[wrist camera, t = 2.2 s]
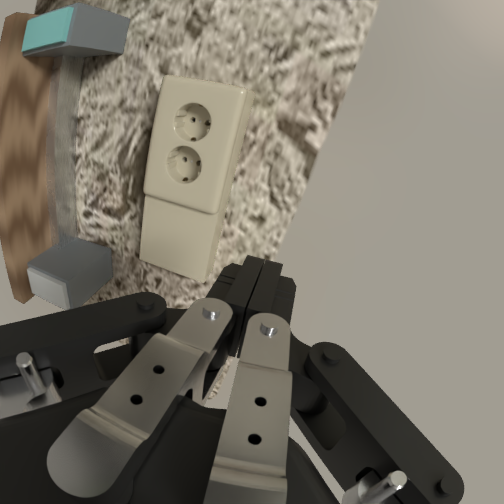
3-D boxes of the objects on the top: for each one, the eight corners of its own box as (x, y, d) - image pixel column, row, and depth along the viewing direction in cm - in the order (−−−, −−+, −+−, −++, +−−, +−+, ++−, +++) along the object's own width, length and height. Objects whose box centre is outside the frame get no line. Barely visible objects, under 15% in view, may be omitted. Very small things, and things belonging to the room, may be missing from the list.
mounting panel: (70, 25, 23) (5, 17, 14) (82, 22, 23) (16, 12, 14) (63, 261, 37) (14, 298, 28) (73, 265, 37) (23, 304, 28)
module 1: (81, 26, 23) (25, 18, 15) (130, 18, 22) (74, 1, 14) (75, 58, 25) (18, 56, 17) (123, 53, 24) (64, 44, 16)
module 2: (69, 235, 35) (23, 265, 27) (111, 248, 34) (64, 284, 26) (72, 262, 36) (30, 294, 29) (112, 277, 36) (71, 315, 28)
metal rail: (75, 58, 25) (53, 57, 22) (84, 57, 24) (62, 55, 21) (69, 235, 35) (52, 246, 31) (77, 237, 34) (60, 249, 31)
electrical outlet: (134, 263, 29) (161, 73, 21) (153, 246, 33) (182, 78, 25) (200, 287, 29) (246, 88, 20) (213, 267, 32) (257, 91, 24)
